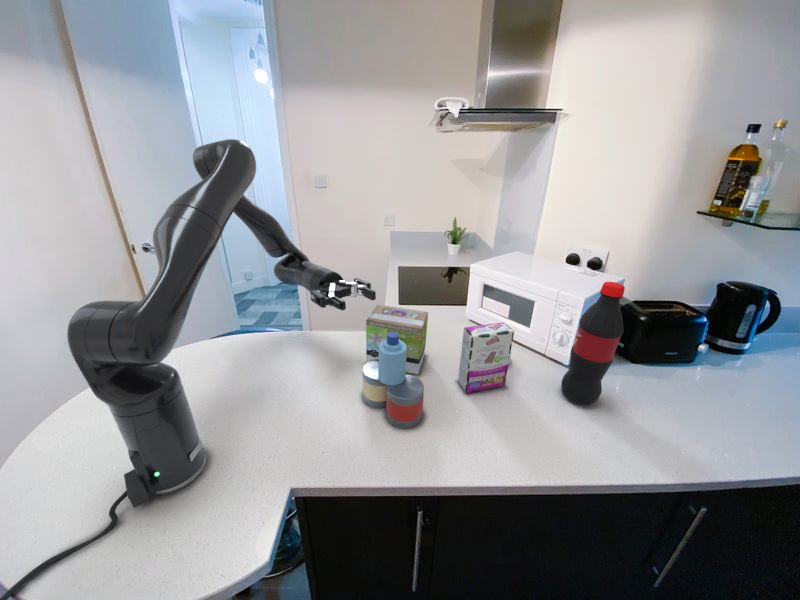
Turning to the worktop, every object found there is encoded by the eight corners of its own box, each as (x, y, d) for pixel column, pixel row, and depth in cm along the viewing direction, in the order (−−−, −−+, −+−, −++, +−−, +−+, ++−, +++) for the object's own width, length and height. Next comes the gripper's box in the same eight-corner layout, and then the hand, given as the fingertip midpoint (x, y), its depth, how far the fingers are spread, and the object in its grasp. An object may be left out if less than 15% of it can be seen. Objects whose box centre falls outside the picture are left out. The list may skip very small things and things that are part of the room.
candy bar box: (494, 375, 85) (504, 321, 78) (504, 387, 80) (516, 331, 74) (456, 381, 82) (463, 326, 75) (464, 394, 78) (473, 336, 71)
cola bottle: (592, 389, 81) (630, 279, 68) (601, 412, 73) (646, 293, 61) (556, 382, 83) (587, 274, 70) (562, 404, 75) (597, 288, 63)
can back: (378, 413, 71) (378, 384, 68) (356, 395, 76) (355, 367, 73) (403, 396, 76) (404, 369, 73) (381, 380, 81) (381, 354, 78)
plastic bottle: (391, 389, 67) (392, 345, 62) (373, 376, 70) (372, 333, 66) (410, 377, 70) (413, 334, 66) (392, 365, 74) (393, 324, 70)
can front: (403, 434, 66) (405, 405, 62) (378, 413, 71) (378, 385, 68) (429, 415, 71) (431, 387, 68) (404, 397, 76) (405, 369, 73)
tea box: (365, 366, 87) (364, 319, 81) (376, 347, 96) (376, 303, 90) (419, 375, 84) (422, 327, 78) (425, 355, 93) (428, 310, 87)
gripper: (294, 273, 76) (332, 293, 65) (344, 263, 85) (383, 278, 74) (298, 302, 79) (334, 325, 68) (345, 288, 88) (383, 307, 77)
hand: (360, 301), depth 71 cm, fingers open, 8 cm apart
